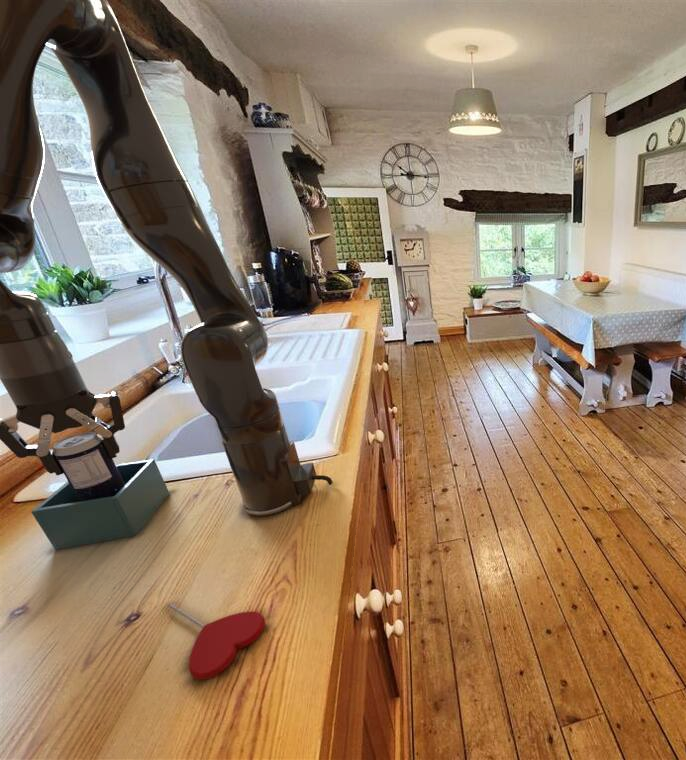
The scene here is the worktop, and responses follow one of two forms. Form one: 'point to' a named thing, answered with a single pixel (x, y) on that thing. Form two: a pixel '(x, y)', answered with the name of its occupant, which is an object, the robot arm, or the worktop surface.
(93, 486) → the beverage can
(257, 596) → the worktop surface
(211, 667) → the lollipop
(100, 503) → the bin
